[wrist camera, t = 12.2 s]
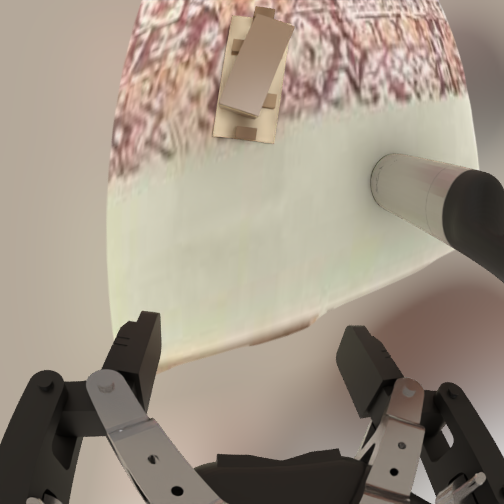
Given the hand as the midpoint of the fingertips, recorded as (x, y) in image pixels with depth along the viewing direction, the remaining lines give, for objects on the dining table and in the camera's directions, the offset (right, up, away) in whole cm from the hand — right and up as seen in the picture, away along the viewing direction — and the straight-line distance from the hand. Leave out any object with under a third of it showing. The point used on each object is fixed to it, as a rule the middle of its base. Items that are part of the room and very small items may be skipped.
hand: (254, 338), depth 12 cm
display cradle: (0, +27, +22) cm, 35 cm away
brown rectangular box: (0, +26, +19) cm, 32 cm away
